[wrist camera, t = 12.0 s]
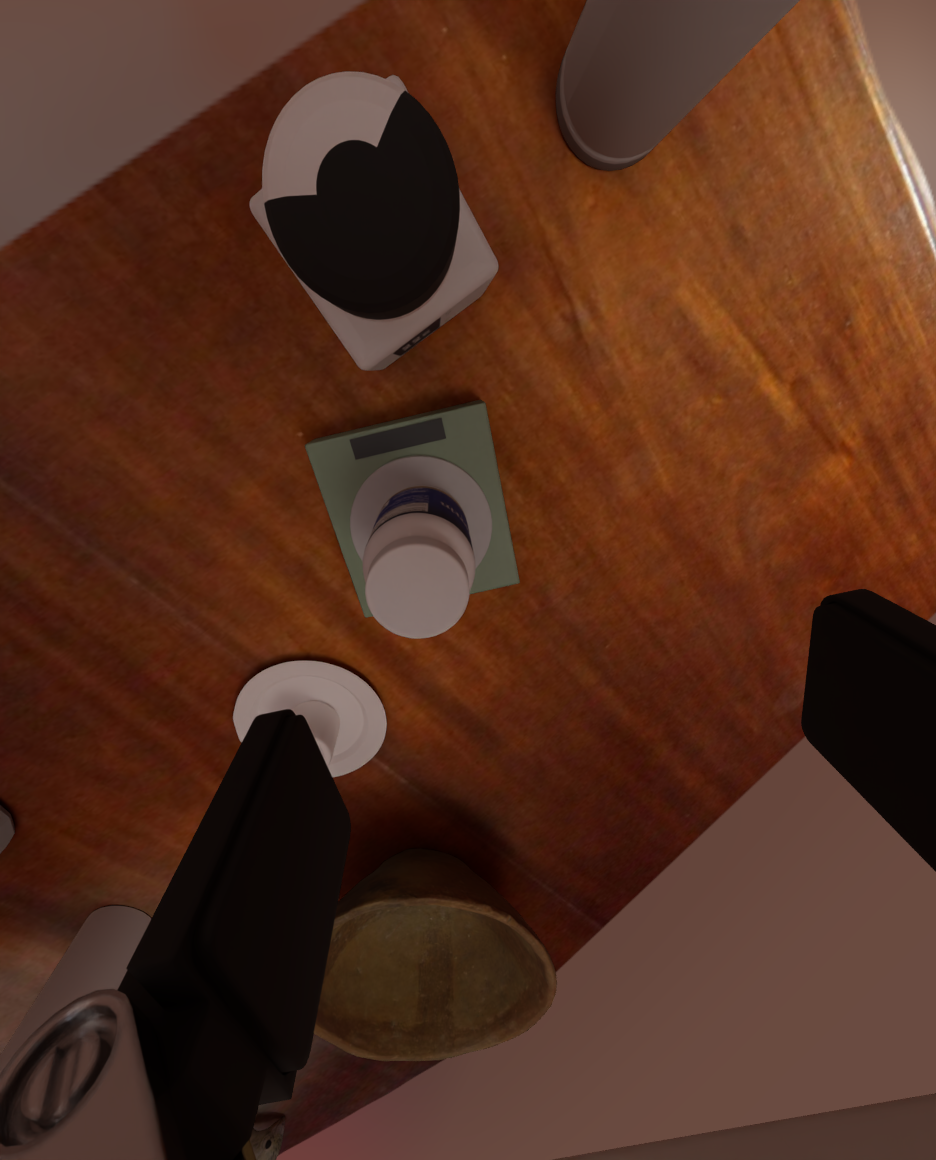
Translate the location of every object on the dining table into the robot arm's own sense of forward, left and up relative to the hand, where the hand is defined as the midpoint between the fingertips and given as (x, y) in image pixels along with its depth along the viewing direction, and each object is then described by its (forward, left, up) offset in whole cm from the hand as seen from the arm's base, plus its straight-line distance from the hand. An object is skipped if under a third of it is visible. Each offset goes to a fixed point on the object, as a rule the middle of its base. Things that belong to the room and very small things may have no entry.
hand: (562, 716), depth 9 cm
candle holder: (+17, -17, -25) cm, 35 cm away
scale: (+2, -4, -25) cm, 26 cm away
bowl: (+39, -13, -25) cm, 48 cm away
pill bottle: (+3, -4, -23) cm, 23 cm away
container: (-12, -2, -25) cm, 28 cm away
